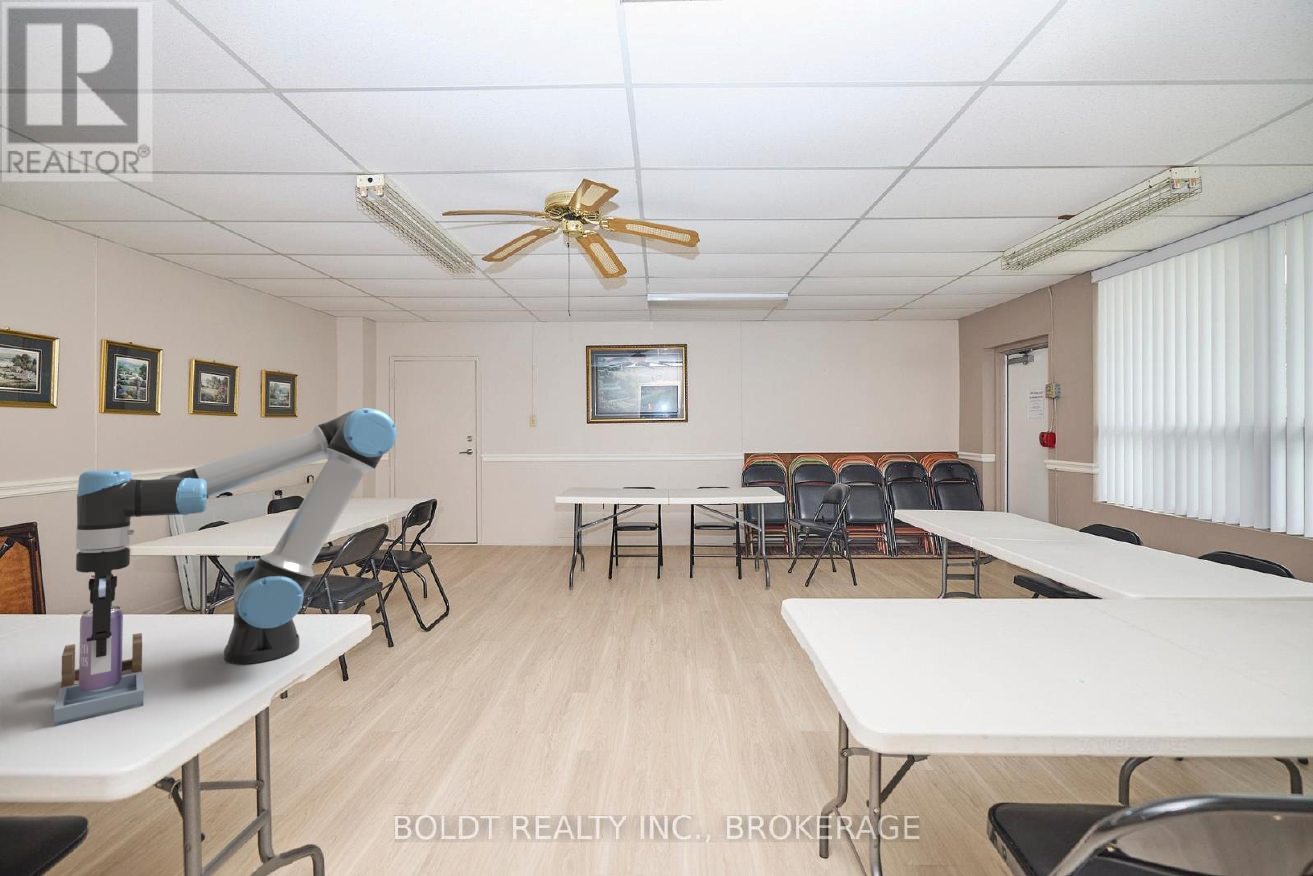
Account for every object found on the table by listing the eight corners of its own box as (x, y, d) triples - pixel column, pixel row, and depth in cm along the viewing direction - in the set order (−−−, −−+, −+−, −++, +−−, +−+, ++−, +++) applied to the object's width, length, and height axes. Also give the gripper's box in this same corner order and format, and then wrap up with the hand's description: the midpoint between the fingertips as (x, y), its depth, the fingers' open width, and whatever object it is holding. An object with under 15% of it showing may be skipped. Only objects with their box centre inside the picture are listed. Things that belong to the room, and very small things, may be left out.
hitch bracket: (141, 681, 120) (142, 644, 121) (60, 699, 112) (61, 658, 112) (141, 666, 129) (141, 631, 129) (65, 681, 121) (65, 643, 121)
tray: (143, 705, 110) (143, 690, 110) (53, 726, 102) (53, 709, 102) (142, 685, 119) (142, 671, 119) (59, 703, 110) (59, 688, 110)
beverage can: (128, 683, 112) (130, 607, 112) (90, 695, 106) (92, 616, 106) (110, 678, 114) (111, 604, 114) (71, 690, 108) (72, 612, 108)
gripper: (129, 553, 106) (127, 676, 106) (130, 540, 120) (127, 649, 120) (72, 559, 101) (70, 688, 101) (79, 544, 115) (77, 658, 114)
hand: (101, 667), depth 110 cm, fingers closed on beverage can, 6 cm apart
